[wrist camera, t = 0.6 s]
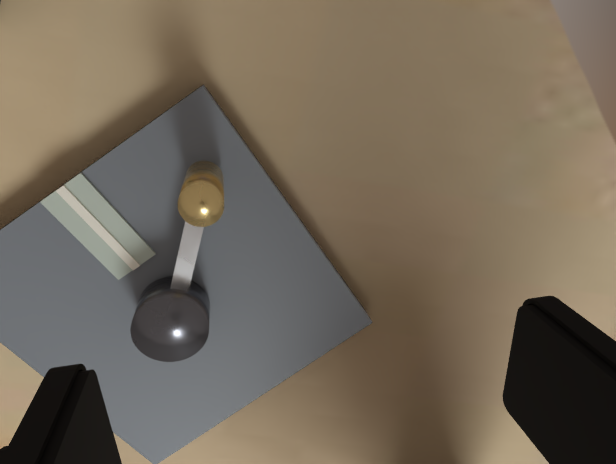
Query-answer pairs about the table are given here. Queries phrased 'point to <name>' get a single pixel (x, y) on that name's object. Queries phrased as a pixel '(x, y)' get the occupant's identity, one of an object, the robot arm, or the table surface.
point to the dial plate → (161, 263)
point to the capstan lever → (181, 277)
